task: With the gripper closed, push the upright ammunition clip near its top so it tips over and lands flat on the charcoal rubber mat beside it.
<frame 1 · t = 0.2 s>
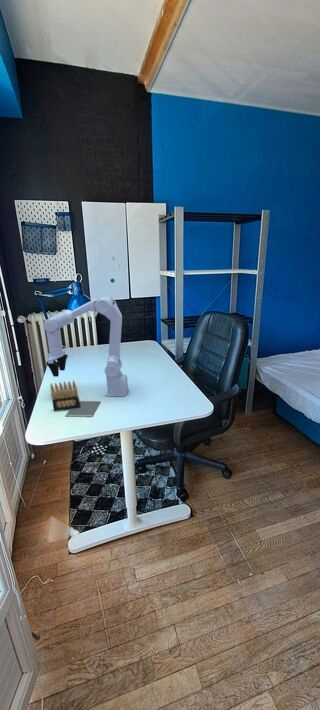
hand: (59, 373, 136), 10 cm above the table, fingers open, 7 cm apart
mat: (83, 409, 124), on the table
ammunition clip: (67, 408, 124), on the table, touching mat
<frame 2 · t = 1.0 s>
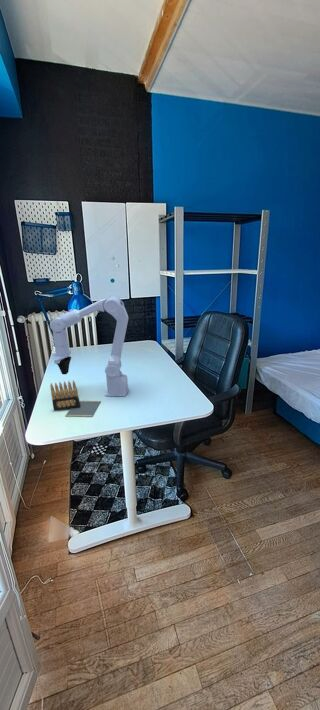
hand: (65, 373, 135), 10 cm above the table, fingers closed
nothing on the table moved.
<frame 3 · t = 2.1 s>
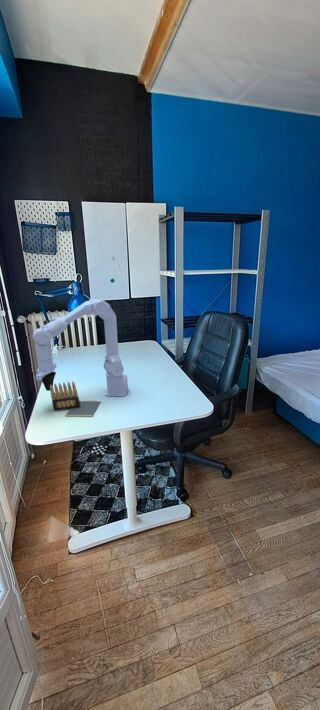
hand: (49, 390, 122), 9 cm above the table, fingers closed
nothing on the table moved.
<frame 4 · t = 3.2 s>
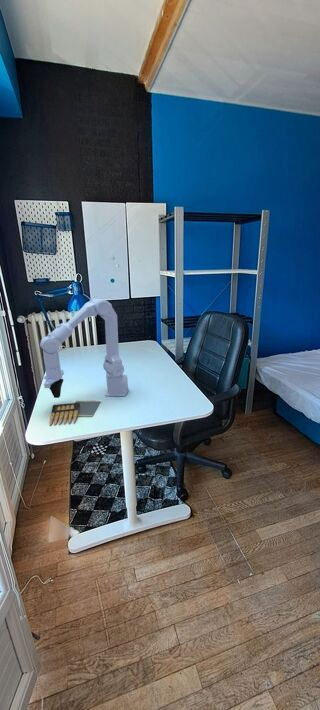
hand: (57, 397, 123), 5 cm above the table, fingers closed
ammunition clip: (66, 405, 123), point 2 cm above the table, touching mat
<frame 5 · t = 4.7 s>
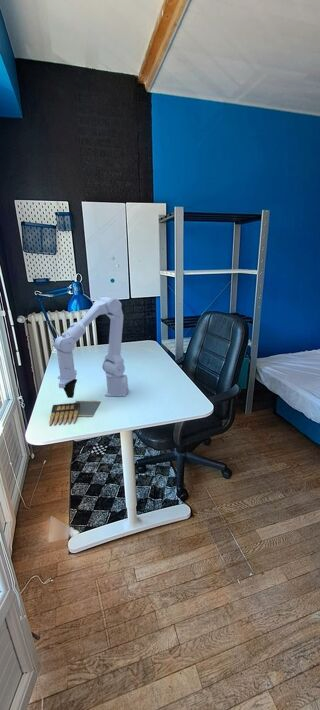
hand: (70, 397, 122), 5 cm above the table, fingers closed
ammunition clip: (66, 405, 123), point 2 cm above the table, touching mat
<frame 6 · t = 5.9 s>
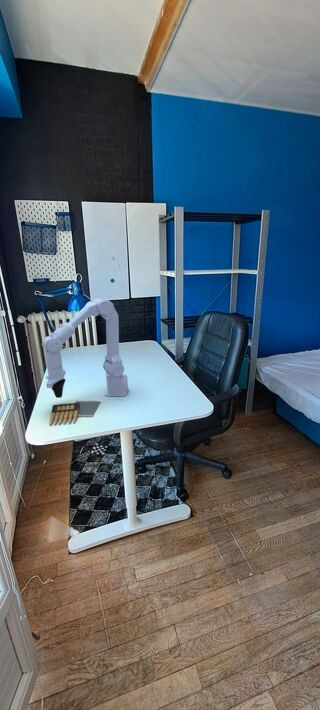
hand: (59, 397, 123), 5 cm above the table, fingers closed
nothing on the table moved.
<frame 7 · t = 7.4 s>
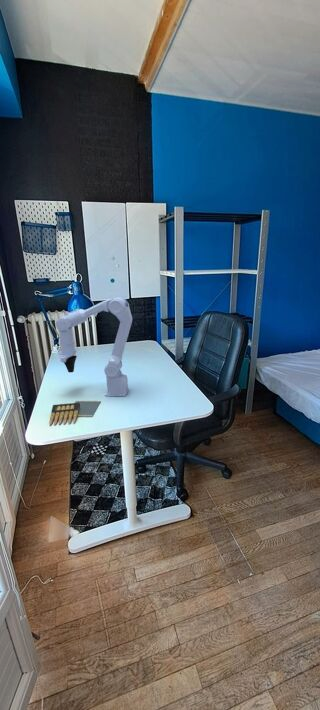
hand: (71, 371, 136), 10 cm above the table, fingers closed
nothing on the table moved.
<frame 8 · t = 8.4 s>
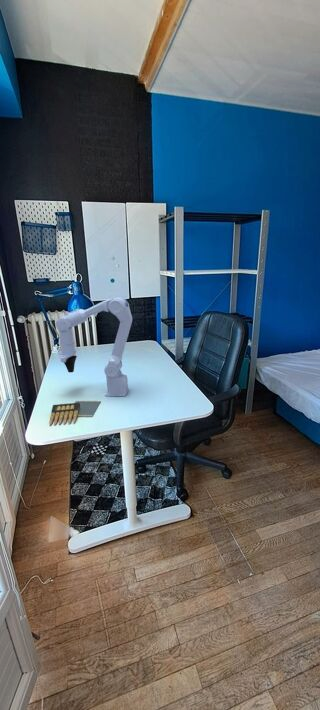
hand: (71, 371, 136), 10 cm above the table, fingers closed
nothing on the table moved.
at the end: ammunition clip tilted 98°; ammunition clip inside the target area (2.4 cm from its centre), point 2.2 cm above the table; ammunition clip touching mat, table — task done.
